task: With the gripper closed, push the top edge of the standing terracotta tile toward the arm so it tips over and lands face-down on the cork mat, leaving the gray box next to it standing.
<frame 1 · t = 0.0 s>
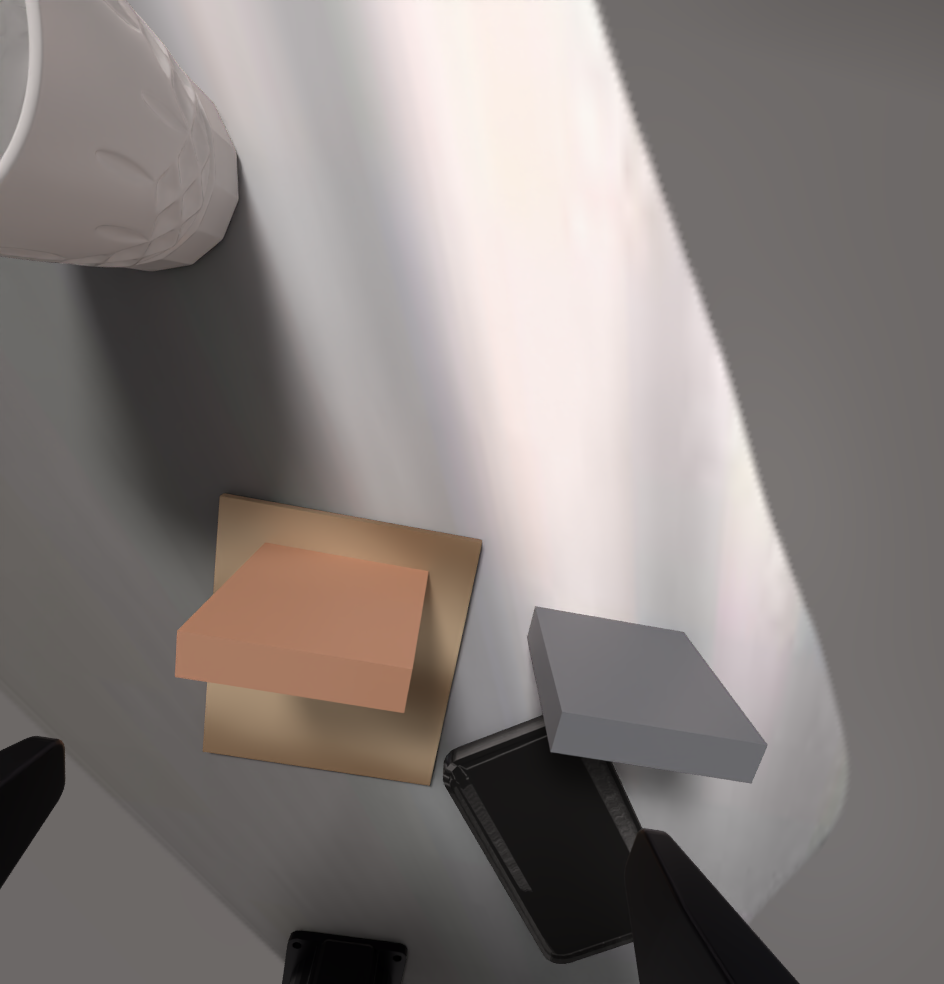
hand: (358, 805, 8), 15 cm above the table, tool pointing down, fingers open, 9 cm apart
terracotta tile: (345, 573, 23), resting on cork mat
gray box: (605, 634, 24), on the table
white cup: (149, 171, 19), on the table
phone: (561, 828, 28), on the table
cork mat: (336, 648, 24), on the table
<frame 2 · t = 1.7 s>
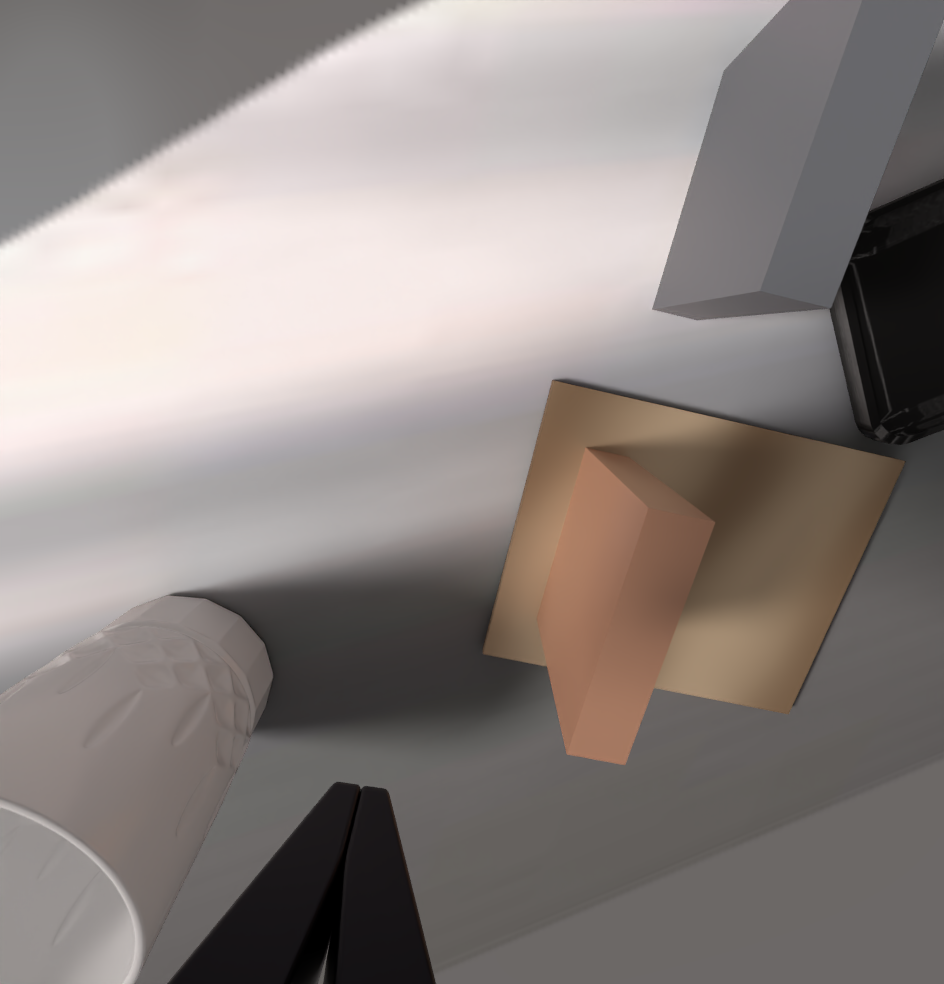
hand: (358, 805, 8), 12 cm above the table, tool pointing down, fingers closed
terracotta tile: (580, 541, 20), resting on cork mat
gray box: (709, 203, 17), on the table
white cup: (195, 663, 22), on the table
cork mat: (678, 558, 20), on the table
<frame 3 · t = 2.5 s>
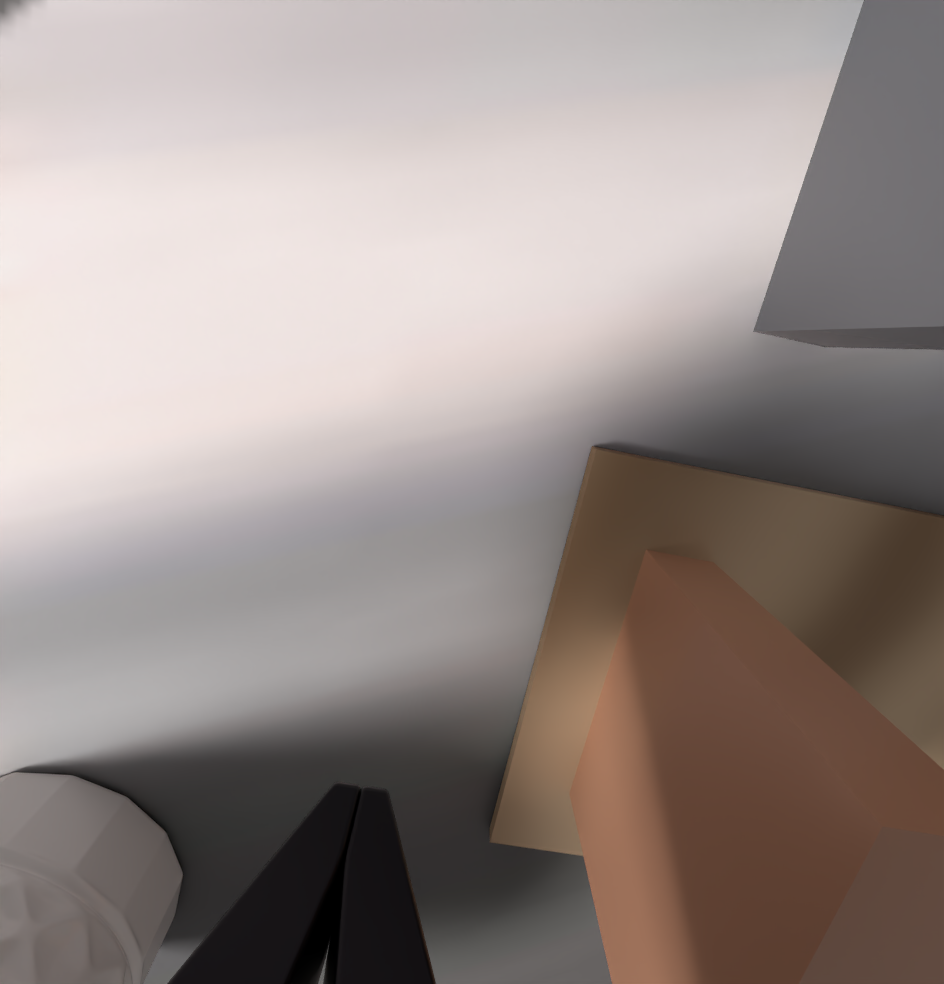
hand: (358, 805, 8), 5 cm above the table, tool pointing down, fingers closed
terracotta tile: (636, 685, 13), resting on cork mat
gray box: (854, 153, 10), on the table
white cup: (70, 857, 15), on the table
cork mat: (781, 701, 13), on the table
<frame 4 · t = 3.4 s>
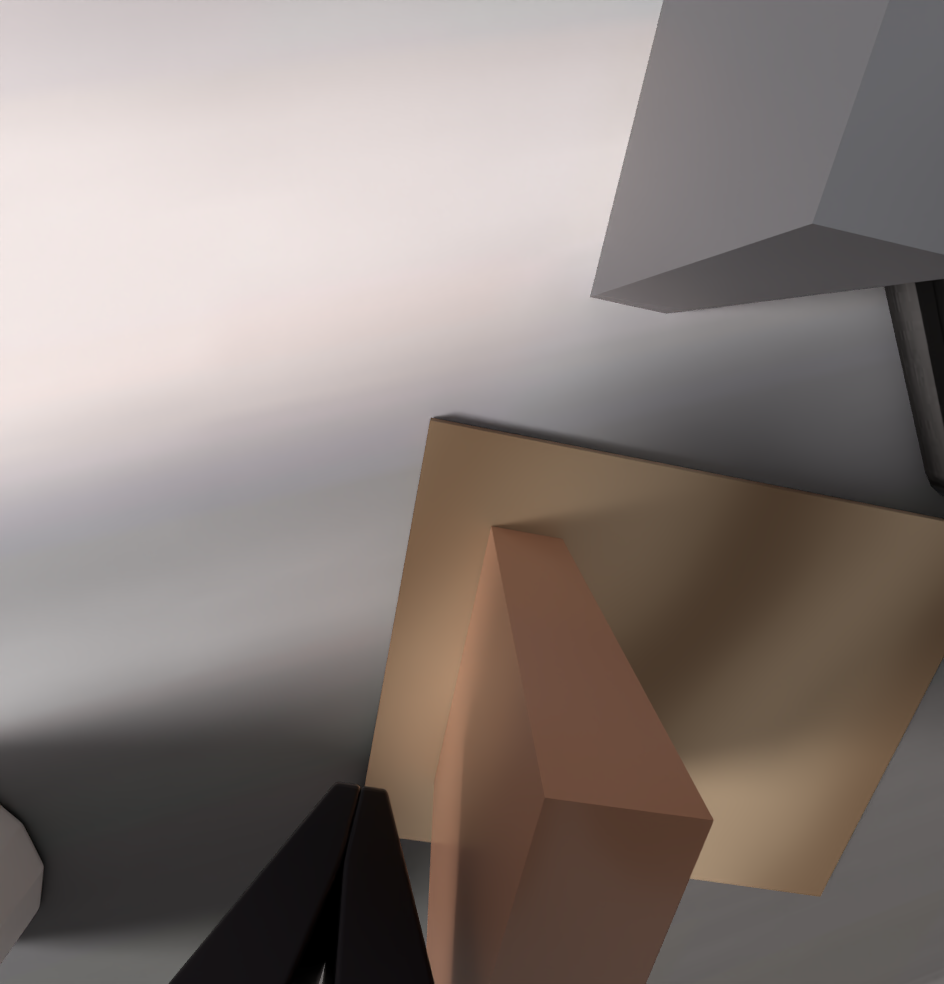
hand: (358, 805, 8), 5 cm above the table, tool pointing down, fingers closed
terracotta tile: (493, 668, 12), resting on cork mat, touching gripper
gray box: (680, 108, 10), on the table
cork mat: (649, 684, 13), on the table
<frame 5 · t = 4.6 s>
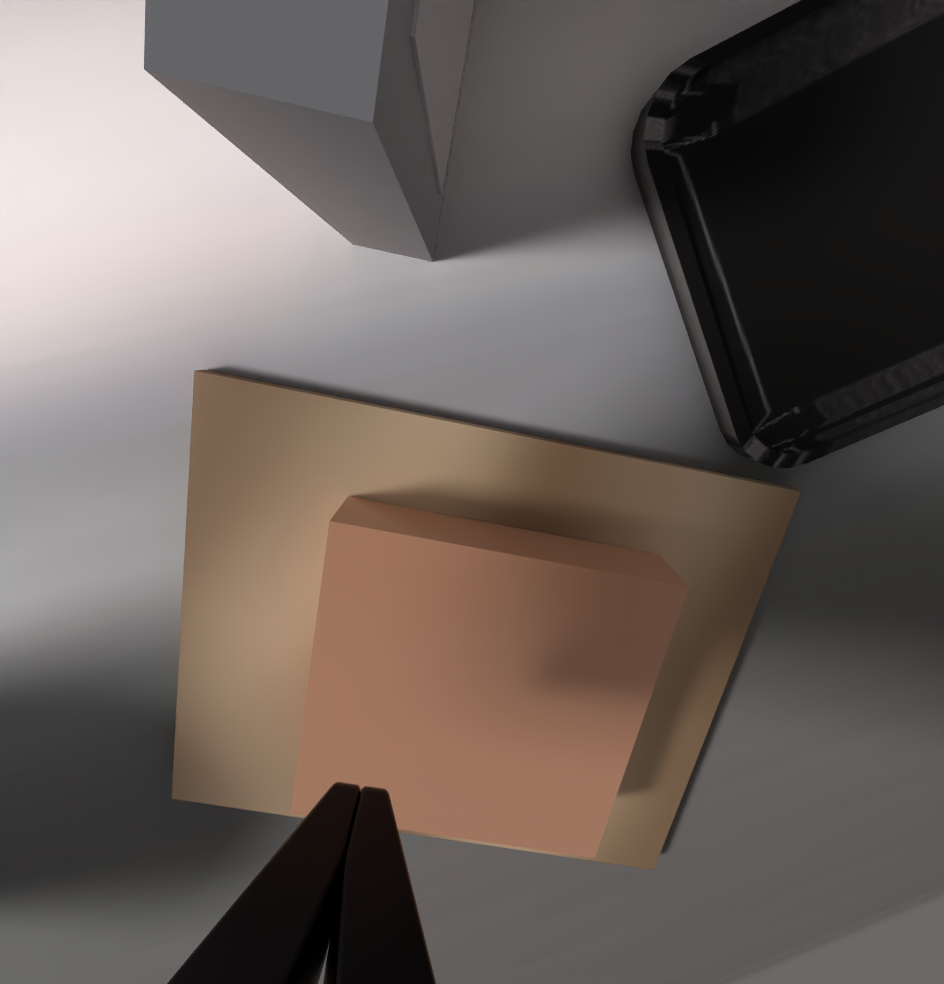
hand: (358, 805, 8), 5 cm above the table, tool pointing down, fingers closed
terracotta tile: (318, 657, 11), point 1 cm above the table, tilted 90°, touching cork mat
gray box: (423, 46, 9), on the table
cork mat: (459, 648, 13), on the table
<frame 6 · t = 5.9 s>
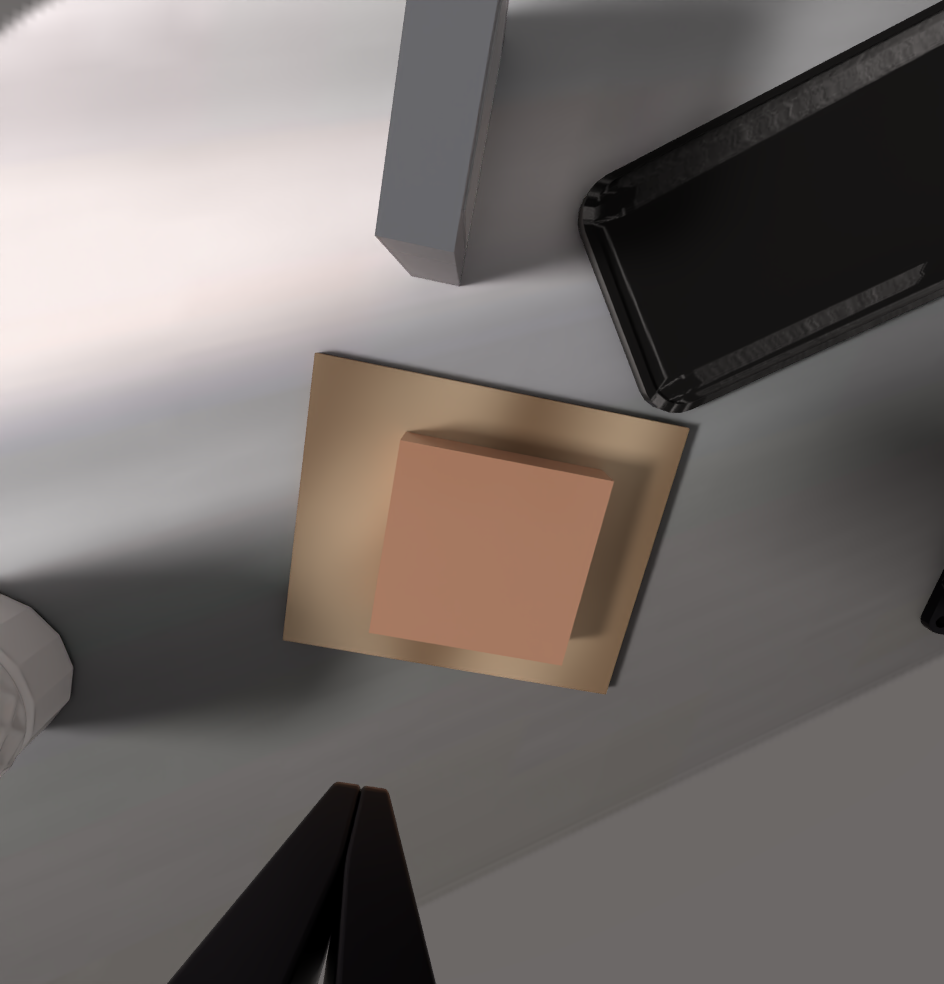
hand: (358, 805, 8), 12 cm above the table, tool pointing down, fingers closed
terracotta tile: (387, 533, 18), point 1 cm above the table, tilted 90°, touching cork mat
gray box: (455, 162, 16), on the table
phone: (820, 215, 17), on the table
cork mat: (474, 536, 20), on the table
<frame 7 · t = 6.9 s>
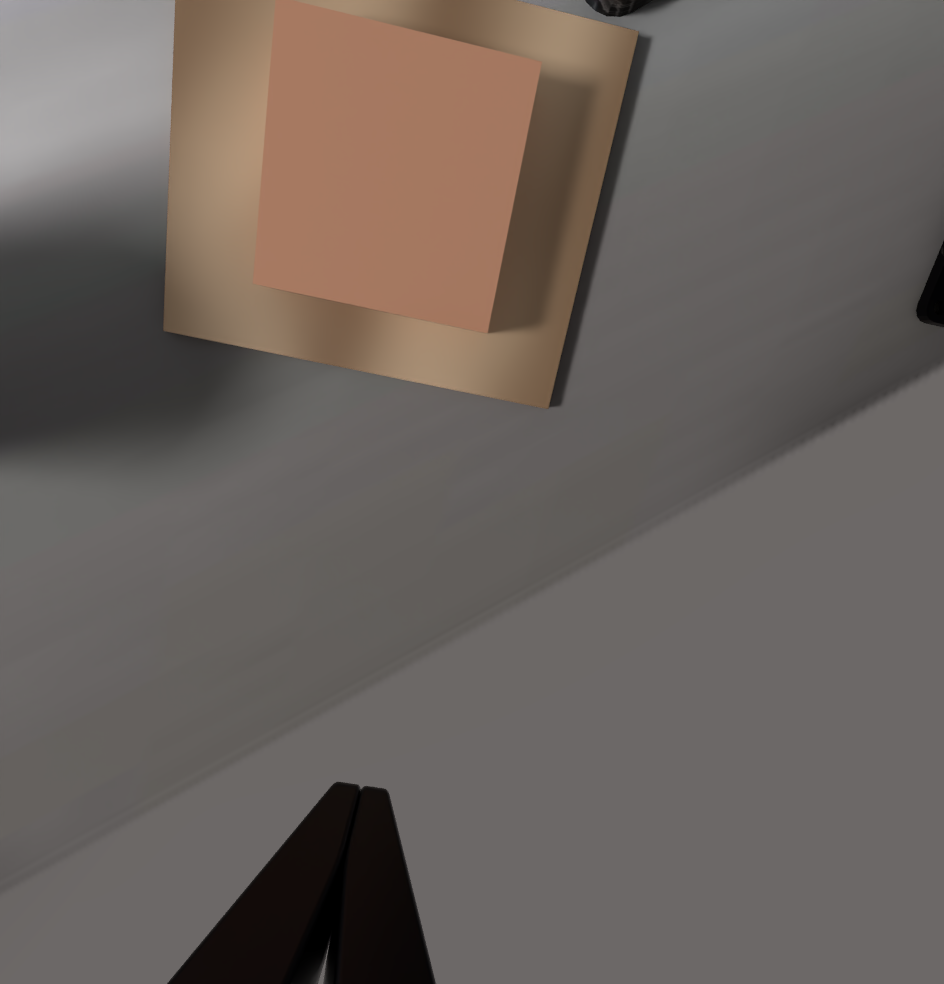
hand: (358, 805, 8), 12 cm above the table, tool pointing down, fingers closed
terracotta tile: (273, 159, 15), point 1 cm above the table, tilted 90°, touching cork mat
cork mat: (387, 194, 17), on the table
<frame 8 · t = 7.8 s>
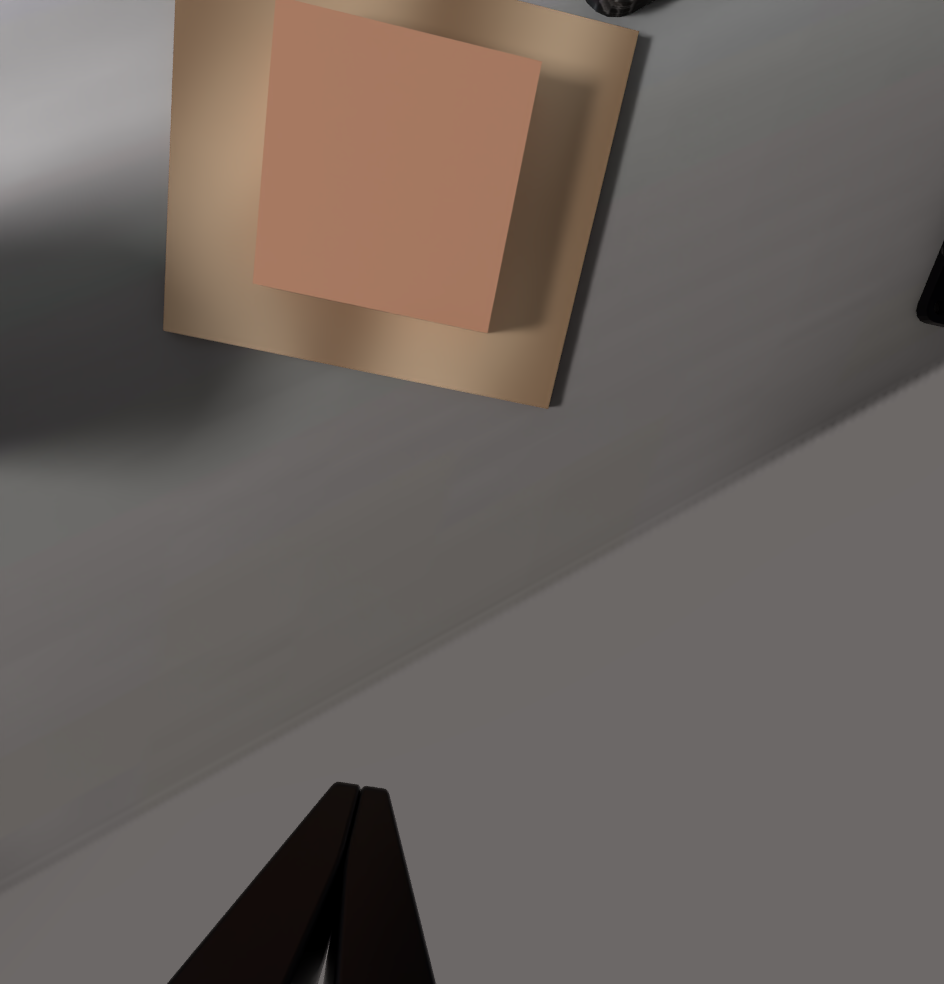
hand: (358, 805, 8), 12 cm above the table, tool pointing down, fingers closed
terracotta tile: (273, 158, 15), point 1 cm above the table, tilted 90°, touching cork mat
cork mat: (387, 194, 17), on the table
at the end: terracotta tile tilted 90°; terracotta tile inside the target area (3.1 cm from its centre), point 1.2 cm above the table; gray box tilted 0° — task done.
